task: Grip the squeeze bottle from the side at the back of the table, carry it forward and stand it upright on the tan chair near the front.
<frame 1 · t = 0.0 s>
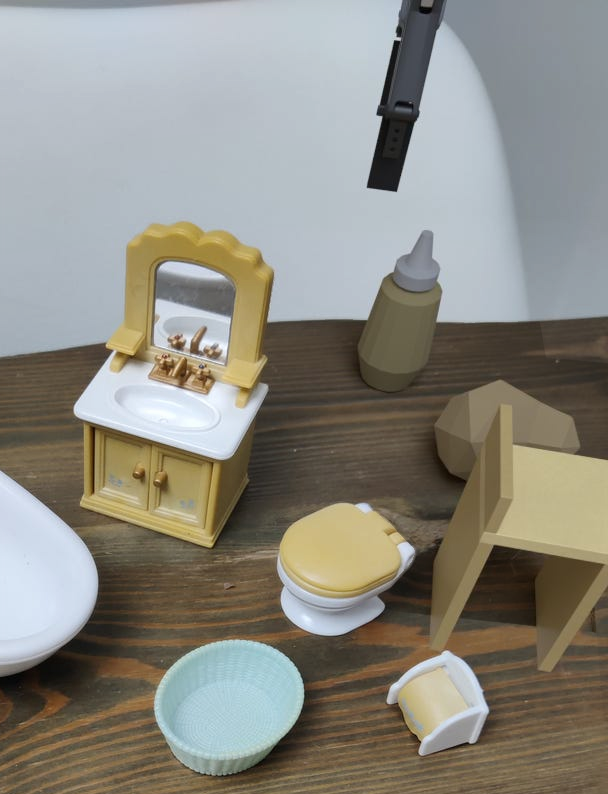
hand: (386, 150, 91), 27 cm above the table, tool pointing down, fingers open, 13 cm apart
low-poly potato: (489, 472, 105), on the table
squeeze bottle: (385, 378, 114), on the table
tan chair: (552, 495, 80), on the table
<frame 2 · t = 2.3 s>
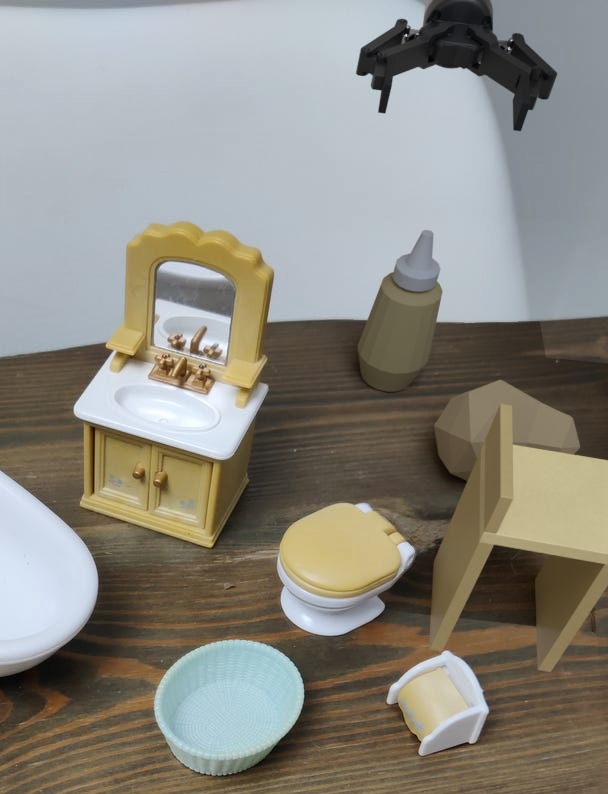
hand: (452, 108, 98), 26 cm above the table, tool horizontal, fingers open, 13 cm apart
nothing on the table moved.
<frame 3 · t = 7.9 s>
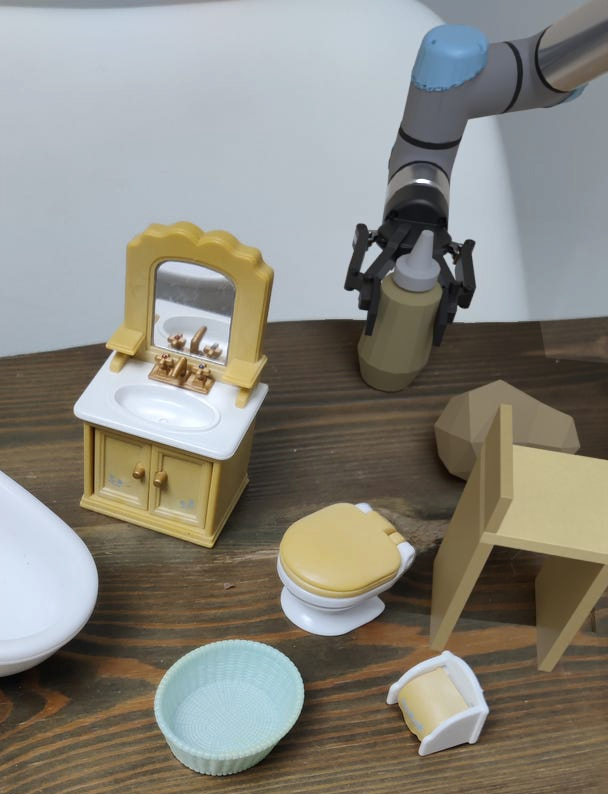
hand: (405, 329, 103), 10 cm above the table, tool horizontal, fingers closed on squeeze bottle, 6 cm apart
squeeze bottle: (385, 378, 114), on the table, touching gripper
everything else where it was.
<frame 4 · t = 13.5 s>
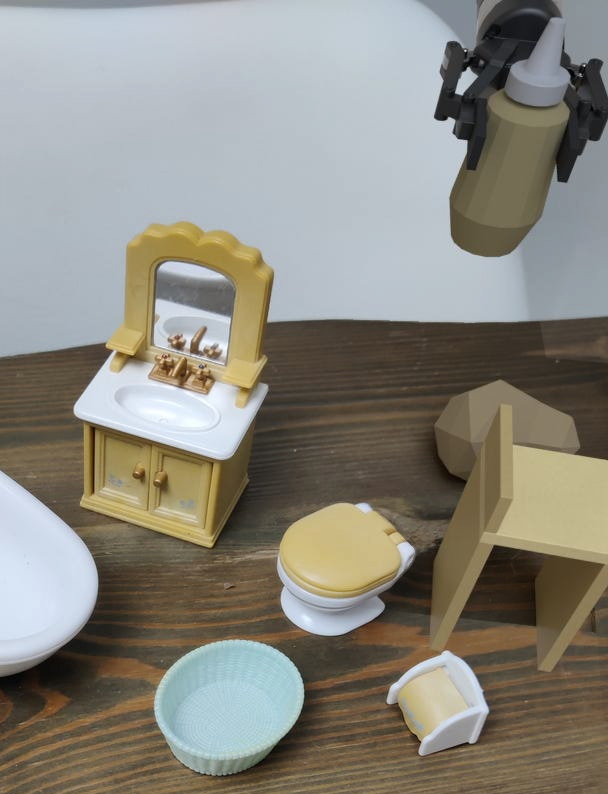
hand: (522, 159, 77), 34 cm above the table, tool horizontal, fingers closed on squeeze bottle, 6 cm apart
squeeze bottle: (482, 242, 88), point 24 cm above the table, touching gripper
everything else where it was.
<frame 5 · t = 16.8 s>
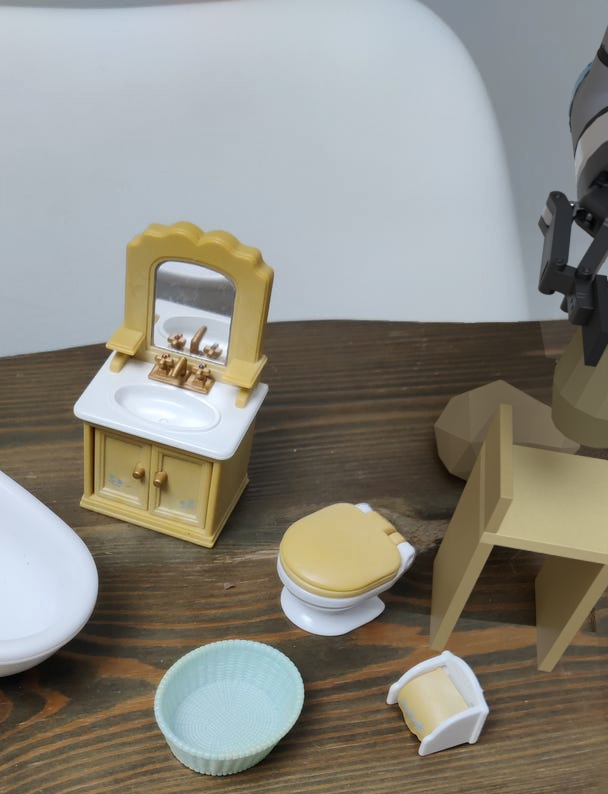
squeeze bottle: (588, 426, 75), point 23 cm above the table, touching gripper
everything else where it was.
when the fingers open (26 cm above the table, at t = 19.2 s): squeeze bottle stays where it is, resting on tan chair.
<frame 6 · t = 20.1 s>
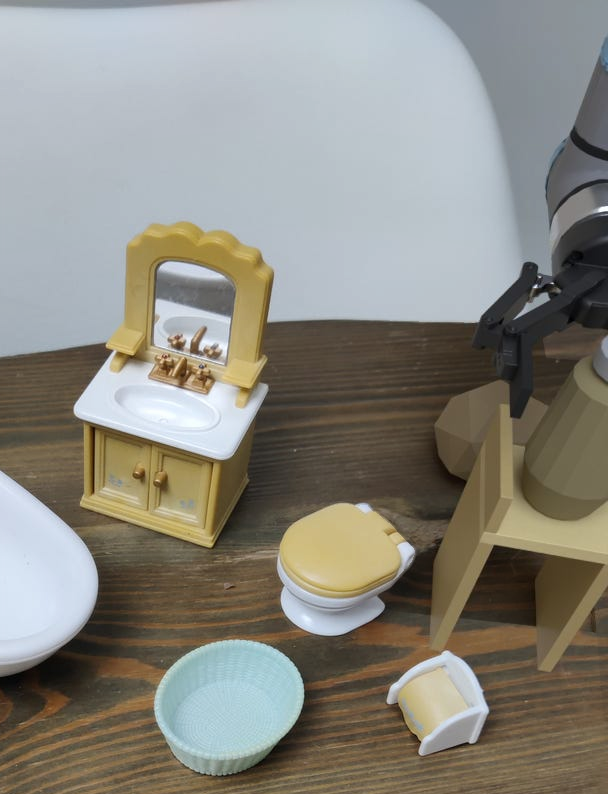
squeeze bottle: (557, 497, 80), point 16 cm above the table, touching tan chair
everything else where it was.
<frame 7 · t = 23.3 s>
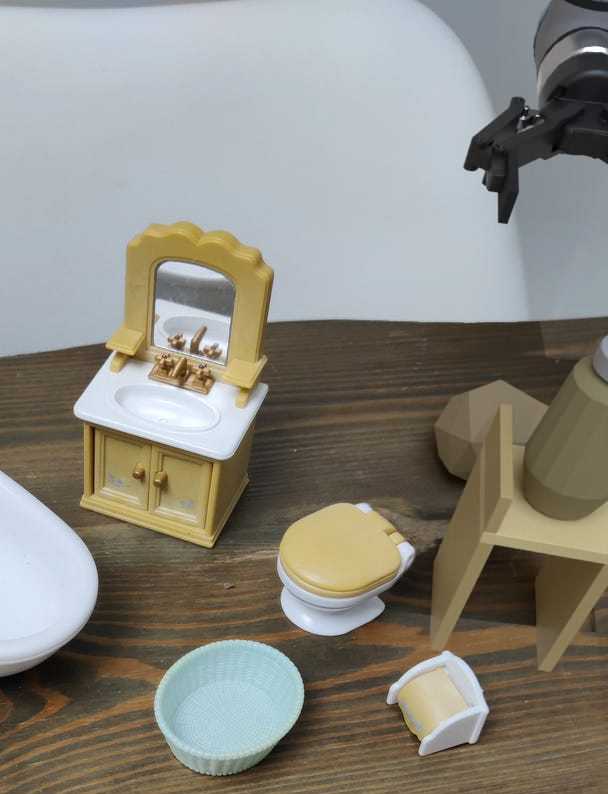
hand: (596, 220, 77), 31 cm above the table, tool horizontal, fingers open, 13 cm apart
nothing on the table moved.
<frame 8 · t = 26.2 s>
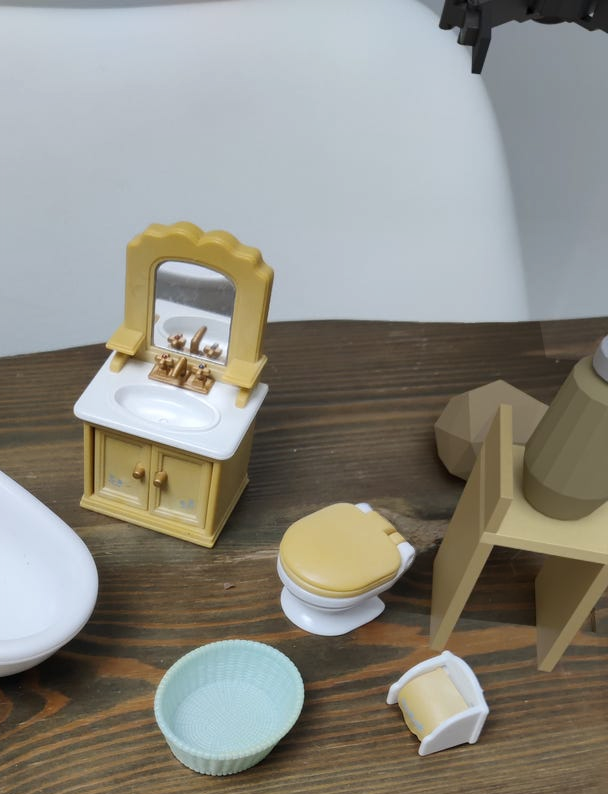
hand: (568, 67, 77), 38 cm above the table, tool horizontal, fingers open, 13 cm apart
nothing on the table moved.
at the end: squeeze bottle 0.9 cm from the target spot on the tan chair, point 0.0 cm above the tan chair's base; squeeze bottle tilted 0°; the gripper is holding nothing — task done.
